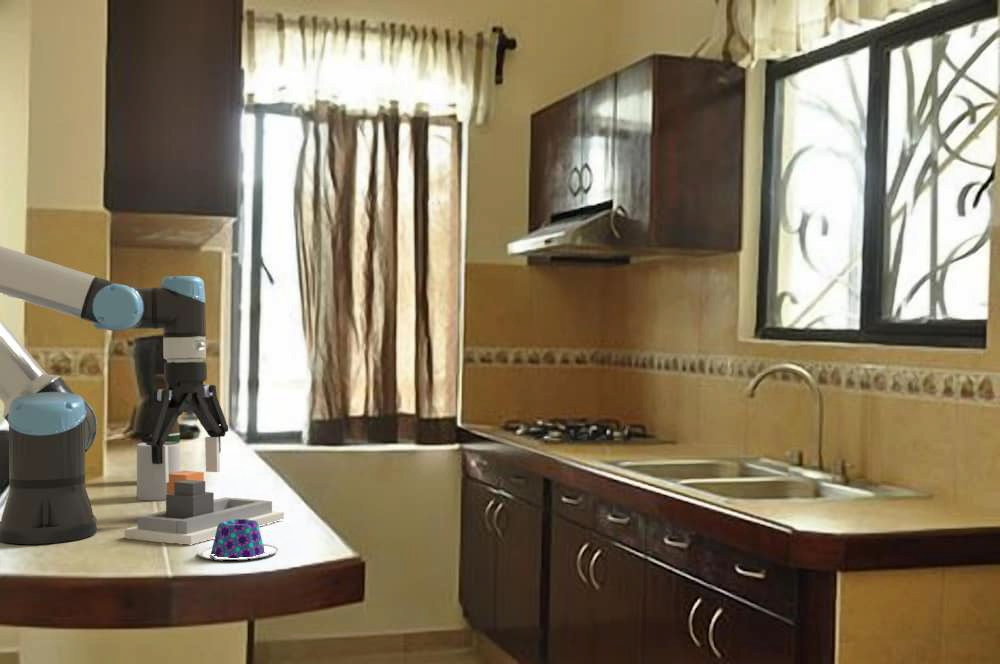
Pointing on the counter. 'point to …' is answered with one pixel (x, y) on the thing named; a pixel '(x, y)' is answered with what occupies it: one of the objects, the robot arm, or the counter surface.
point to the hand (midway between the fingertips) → (187, 476)
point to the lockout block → (183, 478)
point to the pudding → (237, 540)
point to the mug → (145, 471)
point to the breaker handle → (189, 500)
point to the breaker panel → (192, 535)
